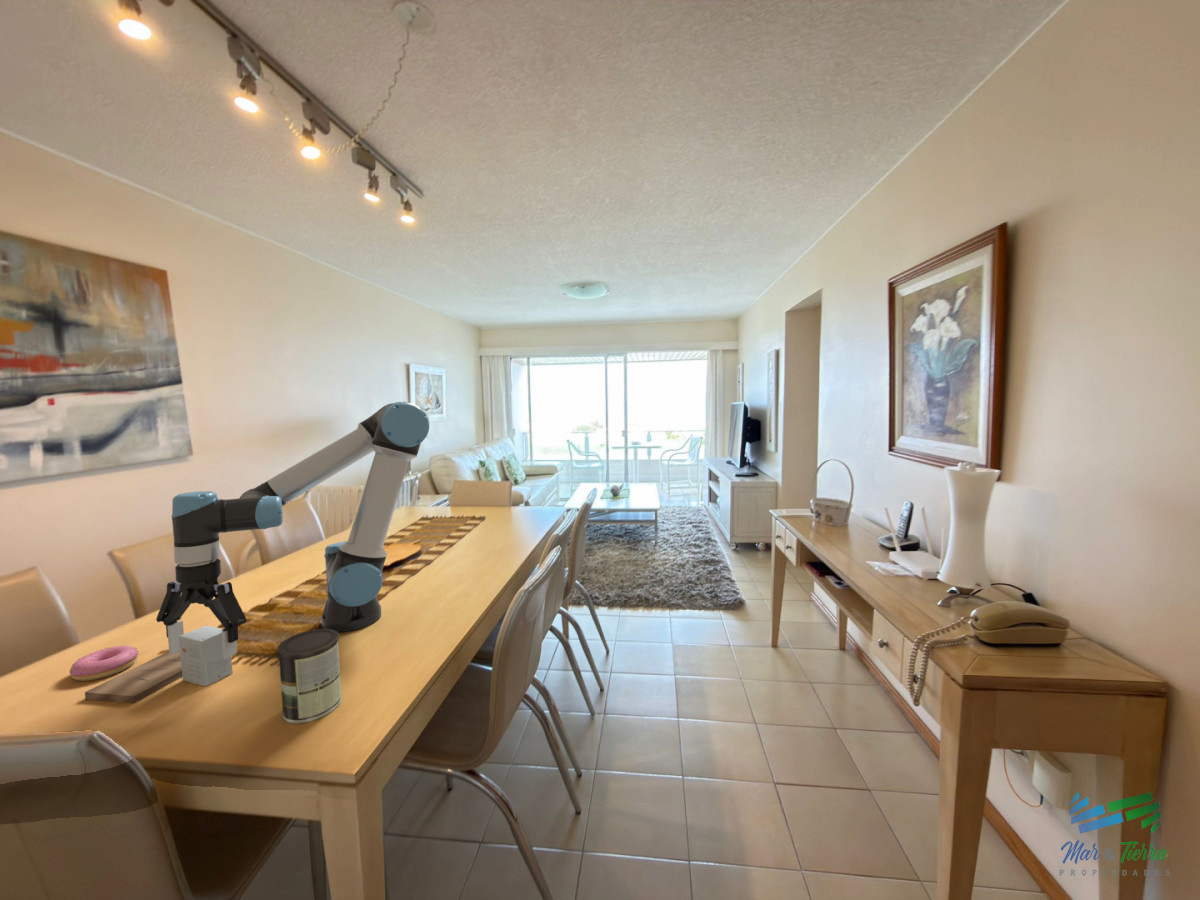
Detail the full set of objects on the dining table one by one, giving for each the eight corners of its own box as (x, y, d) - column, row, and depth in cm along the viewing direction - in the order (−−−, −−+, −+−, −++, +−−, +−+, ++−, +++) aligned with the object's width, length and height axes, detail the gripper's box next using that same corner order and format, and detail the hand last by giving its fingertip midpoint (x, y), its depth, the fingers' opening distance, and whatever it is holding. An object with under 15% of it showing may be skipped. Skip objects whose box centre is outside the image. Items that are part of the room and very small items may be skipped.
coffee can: (270, 726, 86) (265, 655, 85) (301, 692, 96) (297, 629, 95) (326, 722, 87) (322, 652, 86) (351, 690, 97) (347, 627, 96)
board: (225, 652, 113) (225, 646, 113) (134, 703, 93) (134, 696, 93) (183, 649, 114) (183, 643, 114) (85, 699, 95) (84, 692, 95)
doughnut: (109, 657, 111) (108, 641, 111) (152, 658, 111) (151, 642, 111) (55, 684, 100) (53, 666, 100) (102, 684, 100) (100, 666, 100)
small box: (233, 673, 104) (229, 629, 103) (205, 687, 98) (201, 641, 98) (210, 667, 106) (206, 624, 105) (181, 680, 101) (177, 635, 100)
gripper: (263, 558, 102) (267, 648, 104) (167, 553, 105) (172, 641, 107) (232, 569, 95) (237, 666, 96) (130, 564, 98) (136, 658, 99)
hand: (203, 653), depth 102 cm, fingers open, 13 cm apart
